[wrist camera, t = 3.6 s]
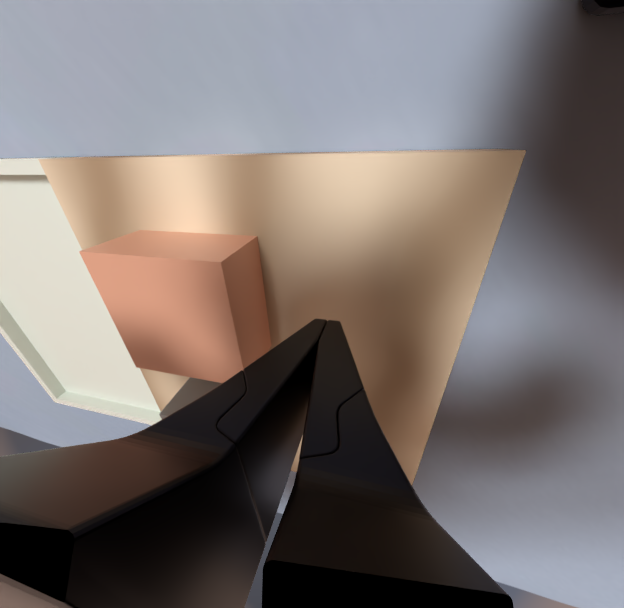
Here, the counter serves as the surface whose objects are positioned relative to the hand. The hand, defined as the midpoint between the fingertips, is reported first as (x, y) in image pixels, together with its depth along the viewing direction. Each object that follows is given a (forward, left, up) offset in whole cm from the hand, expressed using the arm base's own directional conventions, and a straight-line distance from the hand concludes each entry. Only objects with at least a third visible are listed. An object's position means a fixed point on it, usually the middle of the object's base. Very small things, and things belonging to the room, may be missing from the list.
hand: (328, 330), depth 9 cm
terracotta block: (+5, 0, -2) cm, 6 cm away
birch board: (+3, +4, -4) cm, 6 cm away
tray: (+18, +4, -4) cm, 19 cm away
